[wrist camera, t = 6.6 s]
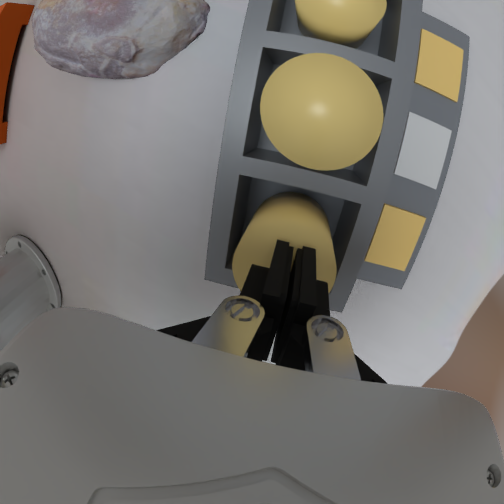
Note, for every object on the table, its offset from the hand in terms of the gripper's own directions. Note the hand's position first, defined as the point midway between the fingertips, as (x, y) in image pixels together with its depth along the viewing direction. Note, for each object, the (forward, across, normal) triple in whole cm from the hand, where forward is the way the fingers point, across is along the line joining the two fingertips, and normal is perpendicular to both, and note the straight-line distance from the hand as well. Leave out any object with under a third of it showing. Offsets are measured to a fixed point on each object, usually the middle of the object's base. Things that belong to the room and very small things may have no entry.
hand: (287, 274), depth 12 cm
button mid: (+5, 0, -7) cm, 9 cm away
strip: (+10, -8, -7) cm, 14 cm away
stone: (+10, +17, -14) cm, 24 cm away
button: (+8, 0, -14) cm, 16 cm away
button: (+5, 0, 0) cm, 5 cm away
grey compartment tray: (+10, 0, -7) cm, 12 cm away
